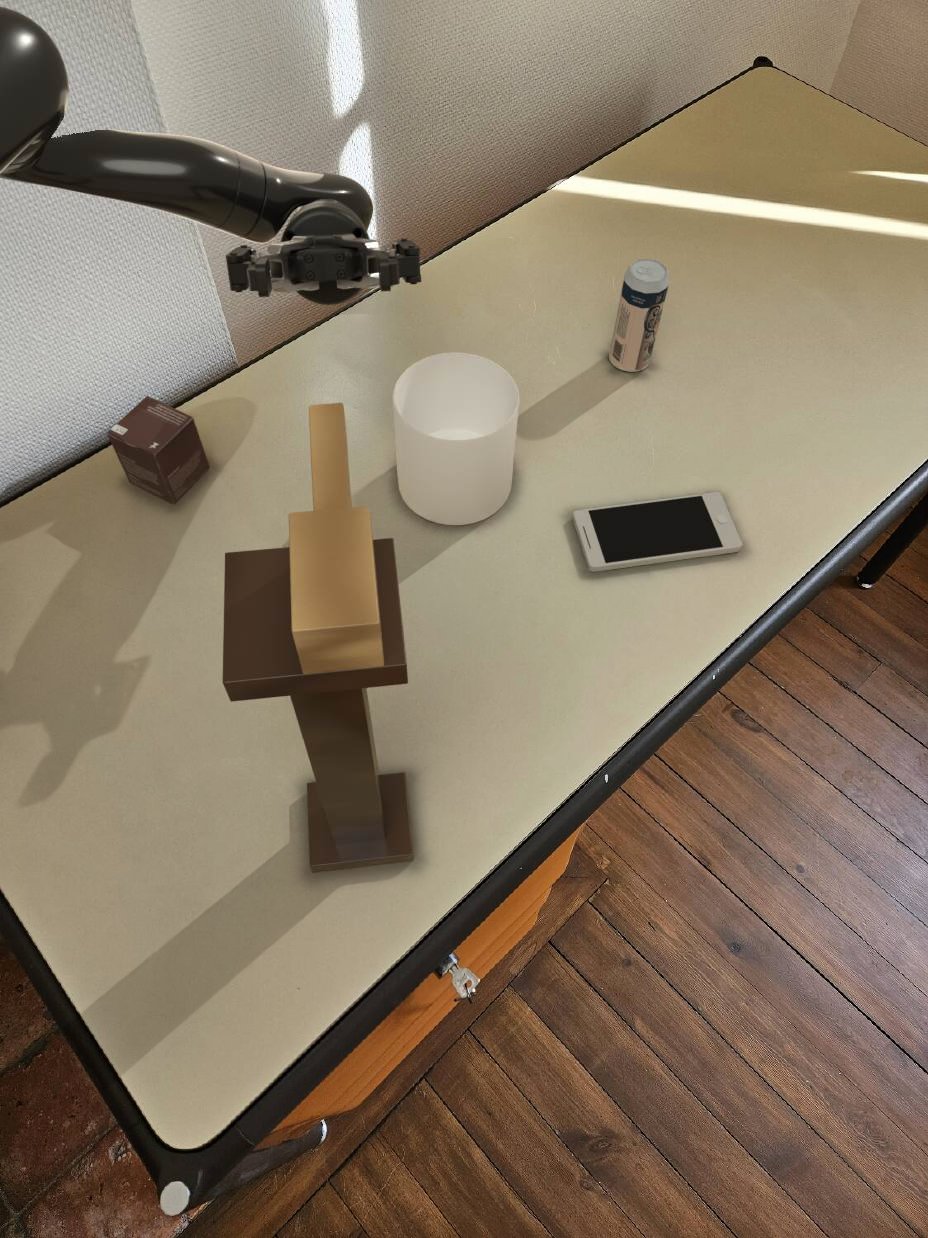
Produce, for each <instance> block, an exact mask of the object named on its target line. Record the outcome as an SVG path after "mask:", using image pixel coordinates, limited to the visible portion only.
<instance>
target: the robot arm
mask: <svg viewBox="0 0 928 1238" xmlns="http://www.w3.org/2000/svg"><path fill="white" fill-rule="evenodd" d="M69 93H70V88H69V76H68V72H67V69H66V65H65V62H64V59H63V57H62V54H61V53H60V50H59V48H58V47H57V45H56V43H55V41H54V40H53V39H52V37H51V36H50V35H49V33H48V32H47V31H46V30H45V29H44V28H43V27H42V26H40V24H38V23H37V22H35V21H34V20H33V19H32V18H31V17H28V16H26V15H25V14H23V13H21V12H19V11H16V10H14V9H10V8H8V7H4V6H0V179H4V180H8V181H13V182H19V183H24V184H30V185H36V186H43V187H47V188H54V189H59V190H64V191H69V192H74V193H79V194H83V195H88V196H93V197H99V198H103V199H108V200H113V201H118V202H123V203H127V204H130V205H131V204H132V205H135V206H140V207H143V208H148V209H151V210H156V211H160V212H163V213H166V214H170V215H173V216H176V217H179V218H181V219H182V218H183V219H186V220H189V221H191V222H194V223H197V224H200V225H203V226H205V227H209V228H211V229H214V230H216V231H220V232H223V233H225V234H229V235H231V236H234V237H236V238H239V239H243V240H245V241H248V242H250V243H255V244H262V245H263V244H267V243H270V242H271V241H272V240H274V239H275V237H277V236H278V234H279V233H280V232H281V230H282V229H283V227H284V225H285V224H286V222H287V221H288V220H289V218H290V217H291V215H292V214H293V213H294V211H296V210H297V211H296V212H295V213H294V214H293V215H292V217H291V218H290V220H289V221H288V223H287V225H286V227H285V229H284V231H283V233H282V235H281V238H280V242H275V243H270V244H269V245H268V247H267V250H266V252H257V249H256V248H255V247H252V246H248V245H247V244H241V245H240V246H237V247H234V249H232V250H231V251H229V252H228V253H227V254H226V255H225V261H226V262H225V263H226V269H227V276H228V277H227V278H228V282H229V290H230V291H231V292H235V293H243V291H247V290H249V292H257V294H258V298H270V295H271V294H272V291H273V292H274V293H284V294H285V293H286V294H291V293H295V292H296V293H297V294H298V295H299V296H300V297H302V298H304V299H305V300H307V301H309V302H312V303H314V304H318V305H322V306H334V305H335V306H337V305H340V304H344V303H346V302H348V301H350V300H352V299H353V298H355V297H356V296H357V295H358V294H359V293H360V292H361V291H363V290H370V289H376V288H380V292H381V293H382V292H383V293H384V292H392V288H393V287H394V286H397V285H400V283H401V282H400V281H401V280H400V279H402V280H403V281H404V282H405V283H406V284H410V285H417V284H418V283H422V273H421V256H420V255H421V247H420V246H419V245H418V244H416V243H415V242H414V241H413V240H411V239H408V238H400V239H399V240H396V241H395V242H392V243H391V246H385V247H381V246H380V244H379V242H378V240H376V239H372V238H370V236H369V232H368V230H369V227H370V224H371V221H372V218H373V213H374V203H373V200H372V198H371V196H370V194H369V192H368V191H367V189H366V188H365V187H364V186H363V185H362V184H361V183H359V182H358V181H356V180H354V179H352V178H351V177H348V176H345V175H341V174H337V173H330V172H318V171H317V172H316V171H314V172H313V171H301V170H294V169H293V170H292V169H287V168H282V167H279V166H278V167H277V166H274V165H272V164H271V165H270V164H268V163H265V162H263V161H260V160H258V159H256V158H253V157H251V156H249V155H246V154H244V153H242V152H240V151H237V150H235V149H232V148H230V147H228V146H226V145H222V144H220V143H218V142H214V141H211V140H208V139H204V138H200V137H195V136H190V135H183V134H173V133H159V132H144V131H129V130H121V129H114V130H111V129H112V128H109V129H110V130H107V129H106V130H95V131H90V132H84V133H83V132H82V133H76V134H75V133H73V134H71V135H70V134H69V135H62V137H61V136H60V137H58V136H57V138H56V137H54V138H51V137H52V135H53V134H54V133H55V131H56V130H57V128H58V126H59V125H60V123H61V121H62V120H63V118H64V116H65V114H66V111H67V107H68V103H69V102H68V101H69V96H70V95H69Z"/></svg>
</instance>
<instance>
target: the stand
mask: <svg viewBox="0 0 928 1238" xmlns="http://www.w3.org/2000/svg"><path fill="white" fill-rule="evenodd" d="M373 545H374V554H375V565H376V577H377V588H378V599H379V610H380V621H381V632H382V643H383V654H384V666H381V667H371V668H361V669H351V670H341V671H331V672H321V673H311V674H303V672H302V668H301V664H300V661H299V657H298V653H297V649H296V645H295V642H294V638H293V634H292V624H291V587H290V550H289V546H286V547H274V548H262V549H252V550H251V549H249V550H239V551H229V552H228V551H227V552H225V553H224V586H223V588H224V591H223V634H222V635H223V636H222V640H223V641H222V685H223V687H224V689H225V692H226V694H227V697H228V700H229V701H230V702H242V701H251V700H252V701H253V700H262V699H271V698H280V697H281V698H282V697H290V701H291V704H292V707H293V710H294V714H295V717H296V721H297V724H298V727H299V730H300V734H301V738H302V740H303V744H304V747H305V750H306V754H307V758H308V760H309V763H310V766H311V767H310V768H311V770H312V773H313V777H314V780H315V781H311V782H307V783H306V794H307V795H306V797H307V825H308V853H309V868H310V870H311V873H313V874H314V873H315V874H316V873H324V872H333V871H341V870H348V869H349V870H350V869H357V868H359V869H360V868H366V867H374V866H383V865H391V864H392V865H393V864H400V863H408V862H414V859H415V858H414V849H413V840H412V829H411V819H410V818H411V817H410V808H409V798H408V789H407V788H408V787H407V780H406V777H407V776H406V772H405V771H401V772H393V773H384V774H380V771H379V769H380V768H379V761H378V756H377V747H376V743H375V736H374V730H373V729H374V728H373V723H372V722H373V721H372V716H371V709H370V702H369V695H368V689H369V688H379V687H388V686H389V687H391V686H399V685H408V684H409V675H408V662H407V651H406V643H405V634H404V626H403V625H404V624H403V623H404V622H403V616H402V615H403V614H402V606H401V605H402V604H401V596H400V588H399V577H398V569H397V568H398V567H397V558H396V551H395V540H394V538H393V537H386V538H377V539H376V538H375V539H373Z"/></svg>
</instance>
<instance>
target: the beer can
mask: <svg viewBox="0 0 928 1238" xmlns="http://www.w3.org/2000/svg"><path fill="white" fill-rule="evenodd" d="M670 278H671V277H670V274H669V271H668V267H667V266H666V265H665V264H663V262H661V261H660V260H657V259H653V258H650V257H648V258H637V259H636V260H635V261H634V262H632V263H630V265H629V266H628V267H627V268H626V270H625V271H624V274H623V281H622V286H621V287H622V288H621V291H620V297H619V302H618V307H617V313H616V318H615V322H614V328H613V333H612V338H611V343H610V349H609V352H608V359H609V362H610V363H611V364H612V366H614V367H615V368H616V369H618V370H621V371H624V372H627V373H629V372H630V373H631V372H633V373H636V372H639V371H643V370H645V369H646V368H647V367H648V366H649V365H650V363H651V358H652V355H653V350H654V347H655V342H656V338H657V334H658V330H659V326H660V322H661V318H662V313H663V311H664V310H663V309H664V307H665V306H664V305H665V301H666V298H667V294H668V290H669V285H670V282H671V280H670Z"/></svg>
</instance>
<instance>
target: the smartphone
mask: <svg viewBox="0 0 928 1238" xmlns="http://www.w3.org/2000/svg"><path fill="white" fill-rule="evenodd" d="M572 522H573V524H574V525H573V526H574V527H575V530H576V534H577V537H578V540H579V544H580V547H581V550H582V554H583V556H584V559H585V562H586V566H587V569H588V571H589V572H596V573H597V572H604V571H610V570H618V569H624V568H632V567H639V566H646V565H647V566H648V565H653V564H661V563H667V562H674V561H682V560H689V559H697V558H703V557H711V556H717V555H725V554H731V553H738V552H740V551H741V550H742V548H743V541H742V539H741V537H740V535H739V532H738V530H737V528H736V525H735V523H734V521H733V519H732V516H731V513H730V512H729V510H728V507H727V505H726V502H725V500H724V497H723V495H722V493H720V492H719V491H718V492H717V491H715V492H714V491H713V492H705V493H697V494H690V495H682V496H675V497H667V498H659V499H653V500H645V501H638V502H629V503H621V504H614V505H607V506H606V505H605V506H598V507H590V508H584V509H583V508H582V509H578V510H574V511H573V512H572Z"/></svg>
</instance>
